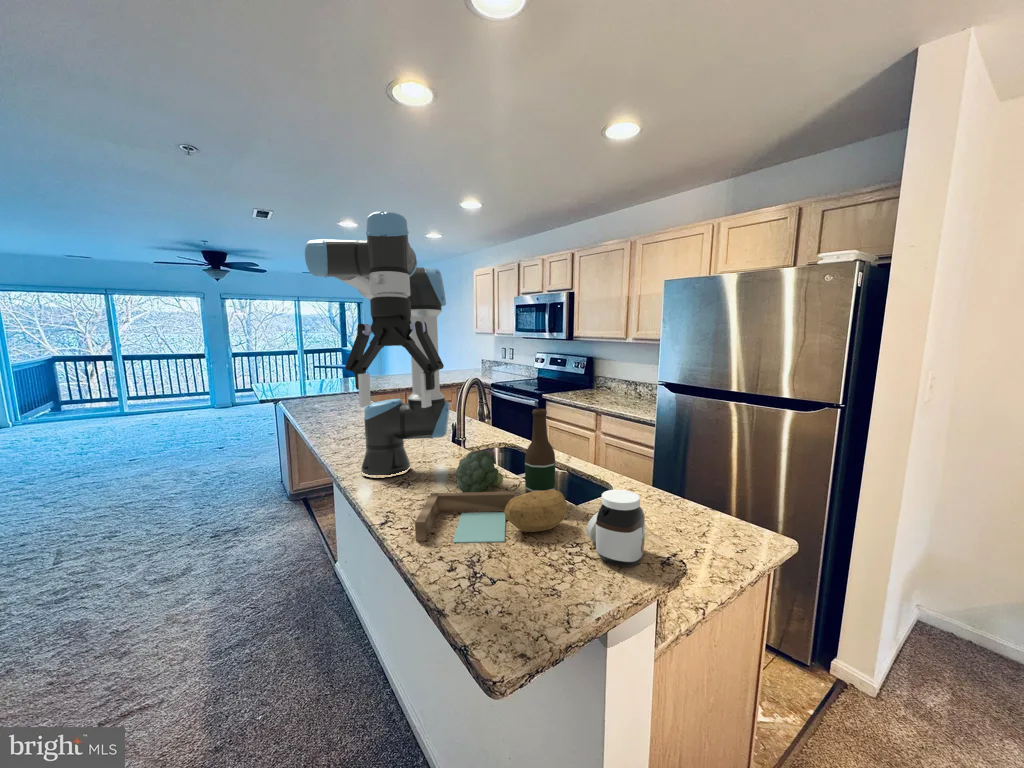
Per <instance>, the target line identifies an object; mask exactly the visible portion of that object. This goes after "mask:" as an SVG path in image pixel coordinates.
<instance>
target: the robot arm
mask: <svg viewBox="0 0 1024 768" xmlns="http://www.w3.org/2000/svg"><path fill="white" fill-rule="evenodd" d="M409 232H410V231H408V221H407V219H406V218H405V216H404V215H401V214H400V213H397V212H392V211H375V212H372V213H370V214H369V215H368V216H367V218H366V230H365V235H366V239H326V238H322V239H311V240H309V241H308V242H306V244H305V247H304V259H305V264H306V266H307V270H308V271H309V273H310V274H311V275H313V276H314V277H321V278H322V277H323V278H329V277H330V278H333V277H334V278H335V279H338V280H340V281H342V282H344V283H345V284H348V285H349V286H351V287H353V288H354V289H356V290H357V291H358V292H359V294H360V295H362V296H363V297H364V298H366V299H367V300H369V304H370V305H369V306H370V308H369V309H370V317H371V319H372V323H371V324H367V323H358V324H357V328H356V329H357V330H356V336H355V340H354V342H353V345H352V347H351V350H350V353H349V355H348V359H347V361H346V363H345V367H344V369H345V370H346V371H350V372H352V373H353V374H354V380H355V381H354V382H355V389H356V391H357V390H358V400H359V407H361V408H364V418H363V421H364V434H365V437H364V438H365V454H364V457H363V460H362V465H361V468H360V471H362V472H363V473H365V474H368V475H391V474H396V473H399V472H402V471H405V470H407V469H408V468H409V467H410V468H411V462H410V459H409V457H408V454H407V452H406V449H405V446H404V444H405V443H404V441H405V440H420V439H423V440H425V439H431V440H433V439H439V438H444V437H445V436H446V434H447V433H448V425H449V417H450V402H449V401H446V398H445V397H446V396H445V395H444V394H443V393H442V392H441V388H440V387H441V386H440V385H441V384H440V370H442V369H444V367H445V366H444V363H443V360H442V359H441V357H440V355H439V336H438V332H439V331H438V316H439V315H440V314H441V313H442V309H443V308H442V307H444V306H447V302H446V299H447V298H446V293H445V286H444V282H443V277H442V272H441V271H440V270H439V269H438V268H436V267H426V266H422V267H418V260H417V254H416V253H415V252H416V251H414V249H413V247H411V245H410V242H409ZM371 334H373V337H372V339H371V340H370V342H369V339H370V336H371ZM368 343H369V345H368ZM367 345H368V347H367ZM393 346H394V347H395V346H398V347H400V346H401V347H403V348H404V349H405V350H406V351H407V352H408V354H409V355H410V358H411V360H410V361H411V380H412V392H411V394H410V395H409V396H408V398H407V401H408V402H403V400H402V398H392V399H385V400H380V401H375V402H372V401H371V399H372V397H371V385H370V384H371V380H370V373H368V371H367V370H368V368H369V367H370V366H371V364H372V363H373V361H374V359H376V357H377V356H378V354H380V352H381V350H382V349H383V348H384V347H393ZM366 348H367V349H366ZM362 472H361V473H362Z"/></svg>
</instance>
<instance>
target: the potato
mask: <svg viewBox="0 0 1024 768" xmlns="http://www.w3.org/2000/svg"><path fill="white" fill-rule="evenodd" d="M567 503H568V502H567V500H566V498H565V496H564V494H563V493H562V492H561V491H558V490H544V491H532V492H529V493H523V494H520V495H518V496H515V497H514V498H512V499H511V500H510V501H509V502H508V504H507V505H506V507H505V511H503V512H504V513H505V519H506V520H507V521H508V522H509V523H510V524H511V525H512V526H513V527H515V528H517V530H518V531H519V530H520V532H521V531H522V532H526V533H534V532H542V531H546V530H547V531H548V530H551V529H552V528H555V527H556V526H558V525H560V524H561V523H562V522H563V521H564V520H565V517H566V515H567V514H566V513H567V511H568V504H567Z"/></svg>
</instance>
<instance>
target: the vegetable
mask: <svg viewBox="0 0 1024 768" xmlns="http://www.w3.org/2000/svg"><path fill="white" fill-rule="evenodd" d="M494 462H495V461H494V458H493V457H492V456H491V455H490V453H489V452H488V451H485V450H481V451H479V452H478V451H470V452H468V453H467V454H466V455H465V457H463V458H461V459H460V460H459V463H458V466H457V468H456V470H455V477H456V483H457V488H458V489H459V490H460V491H461V493H464V492H487V489H488V487H497V486H498V487H499V486H501V485H502V484H503V482H504V477H503V475H502V473H501V472H499V469H497V467H495V463H494Z"/></svg>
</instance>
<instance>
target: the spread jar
mask: <svg viewBox="0 0 1024 768" xmlns="http://www.w3.org/2000/svg"><path fill="white" fill-rule="evenodd" d="M645 523H646V519H645V512H644V510H643V508H642V506H641V497H640V495H639V494H638V493H635V492H634V491H630V490H627V489H609V490H606V491H603V493H601V505H600V508H599V509H598V512H596V513H595V514H594V515H593V516H592V517H591V518H590V520H589V521H588V522H587V525H586V530H585V533H586V535H587V536H588V537H589V538H590V540H591V541H592V542H595V549H596V553H597V555H598V556H599V557H600V558H601V559H602V560H604V562H607V563H608V564H610V565H612V564H613V565H612V566H616V565H617V566H616V567H622V566H628V567H633V566H636V565H638V564H639V563H640V562H641V560H642V558H643V555H644V549H645V540H646V539H645V538H646V535H645V533H646V532H645V531H646V528H645V527H646V524H645Z"/></svg>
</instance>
